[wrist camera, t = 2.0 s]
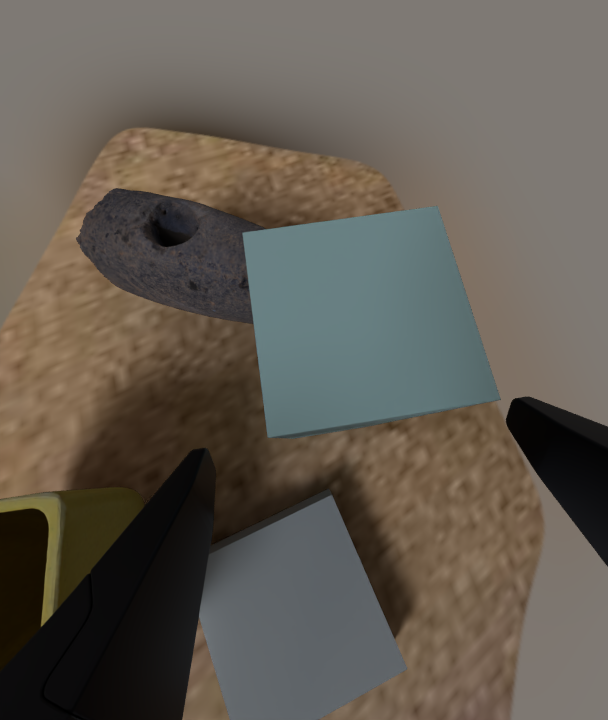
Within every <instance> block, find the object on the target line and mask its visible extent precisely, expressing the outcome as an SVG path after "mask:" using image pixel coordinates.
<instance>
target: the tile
mask: <svg viewBox="0 0 608 720" xmlns="http://www.w3.org/2000/svg"><path fill="white" fill-rule="evenodd" d="M199 618H200V621H201V625H202V628H203V631H204V635H205V638H206V641H207V645H208V648H209V651H210V655H211V658H212V661H213V665H214V668H215V671H216V675H217V678H218V681H219V685H220V688H221V691H222V695H223V698H224V701H225V705H226V708H227V712H228V715H229V718H230V720H318V719H320V718H322V717H324V716H325V715H327V714H329V713H331V712H333V711H334V710H336V709H338V708H340V707H341V706H343V705H345V704H347V703H348V702H350V701H352V700H354V699H355V698H357V697H359V696H361V695H363V694H364V693H366V692H368V691H370V690H371V689H373V688H375V687H377V686H378V685H380V684H382V683H384V682H385V681H387V680H389V679H391V678H393V677H394V676H396V675H398V674H400V673H401V672H403V671H405V670H407V667H406V665H405V662H404V660H403V658H402V655H401V653H400V651H399V648H398V646H397V644H396V641H395V639H394V637H393V635H392V632H391V630H390V628H389V625H388V623H387V621H386V618H385V616H384V614H383V612H382V609H381V607H380V605H379V602H378V600H377V598H376V595H375V593H374V591H373V588H372V586H371V584H370V582H369V579H368V577H367V575H366V572H365V570H364V568H363V565H362V563H361V561H360V558H359V556H358V554H357V552H356V549H355V547H354V545H353V542H352V540H351V538H350V535H349V533H348V531H347V528H346V526H345V524H344V522H343V519H342V517H341V515H340V512H339V510H338V508H337V505H336V503H335V501H334V498H333V496H332V494H331V492H330V490H329V489H327V490H325V491H323V492H321V493H319V494H317V495H315V496H312V497H310V498H308V499H306V500H304V501H302V502H300V503H298V504H296V505H294V506H292V507H290V508H288V509H286V510H283V511H281V512H279V513H277V514H275V515H273V516H271V517H269V518H267V519H265V520H263V521H261V522H259V523H257V524H254V525H252V526H250V527H248V528H246V529H244V530H242V531H240V532H238V533H236V534H234V535H232V536H230V537H228V538H225V539H223V540H221V541H219V542H217V543H215V544H213V545H211V546H210V551H209V557H208V563H207V569H206V575H205V582H204V588H203V594H202V600H201V606H200V612H199Z"/></svg>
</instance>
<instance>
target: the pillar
mask: <svg viewBox="0 0 608 720" xmlns="http://www.w3.org/2000/svg"><path fill="white" fill-rule="evenodd" d="M243 241H244V249H245V257H246V265H247V273H248V282H249V290H250V298H251V306H252V314H253V322H254V330H255V338H256V346H257V355H258V363H259V371H260V379H261V387H262V395H263V403H264V411H265V419H266V428H267V436H268V438H291V439H294V438H300V437H306V436H312V435H319V434H325V433H331V432H337V431H343V430H349V429H355V428H361V427H367V426H372V425H377V424H382V423H387V422H392V421H397V420H402V419H407V418H412V417H417V416H422V415H427V414H432V413H437V412H442V411H447V410H452V409H457V408H462V407H467V406H472V405H477V404H482V403H487V402H492V401H497V400H501V399H500V396H499V393H498V390H497V387H496V384H495V380H494V377H493V375H492V371H491V368H490V365H489V362H488V359H487V356H486V353H485V350H484V347H483V344H482V341H481V338H480V335H479V331H478V328H477V325H476V322H475V319H474V316H473V313H472V310H471V307H470V304H469V301H468V298H467V295H466V292H465V289H464V286H463V282H462V279H461V276H460V273H459V270H458V267H457V264H456V261H455V258H454V255H453V252H452V249H451V246H450V243H449V239H448V236H447V233H446V230H445V227H444V224H443V221H442V218H441V215H440V212H439V209H438V206H434V207H426V208H419V209H412V210H404V211H397V212H390V213H382V214H375V215H368V216H361V217H353V218H346V219H339V220H331V221H324V222H317V223H310V224H302V225H295V226H288V227H280V228H273V229H266V230H258V231H251V232H244V233H243Z"/></svg>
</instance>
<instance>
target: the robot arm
mask: <svg viewBox="0 0 608 720" xmlns="http://www.w3.org/2000/svg"><path fill="white" fill-rule="evenodd" d="M506 424H507V427H508V429H509V430H510V432H511V433H512V435H513V437H514V438H515V440H516V441H517V443H518V445H519V446H520V448H521V449H522V451H523V452H524V454H525V456H526V457H527V459H528V460H529V462H530V464H531V465H532V467H533V468H534V470H535V471H536V473H537V474H538V476H539V477H540V478H541V480H542V481H543V483H544V484H545V485H546V487H547V488H548V489H549V490H550V492H551V493H552V494H553V496H554V497H555V498H556V500H557V501H558V502H559V503H560V505H561V506H562V507H563V509H564V510H565V511H566V513H567V514H568V515H569V517H570V518H571V519H572V521H573V522H574V523H575V525H576V526H577V527H578V528H579V530H580V531H581V532H582V534H583V535H584V536H585V538H586V539H587V540H588V541H589V543H590V544H591V545H592V547H593V548H594V549H595V551H596V552H597V553H598V555H599V556H600V557H601V559H602V560H603V561H604V562H605V564H606V565H607V566H608V427H607V426H605V425H602V424H600V423H597V422H594V421H592V420H589V419H586V418H584V417H581V416H579V415H576V414H573V413H571V412H568V411H566V410H563V409H560V408H558V407H555V406H552V405H550V404H547V403H545V402H542V401H540V400H537V399H534V398H532V397H522V398H515V399H513V400H512V402H511V405H510V408H509V411H508V415H507V418H506ZM215 482H216V470H215V466H214V463H213V460H212V458H211V455H210V453H209V451H208V449H207V448H199V449H194V450H192V451H190V453H189V454H188V455H187V456H186V457H185V458H184V460H183V461H182V462H181V463H180V464H179V466H178V467H177V468H176V469H175V470H174V472H173V473H172V474H171V475H170V476H169V477H168V479H167V480H166V481H165V482H164V483H163V485H162V486H161V487H160V488H159V489H158V491H157V492H156V493H155V494H154V495H153V497H152V498H151V499H150V500H149V501H148V502H147V504H146V505H145V506H144V507H143V508H142V510H141V511H140V512H139V513H138V514H137V516H136V517H135V518H134V519H133V520H132V521H131V523H130V524H129V525H128V526H127V527H126V529H125V530H124V531H123V532H122V533H121V535H120V536H119V537H118V538H117V539H116V541H115V542H114V543H113V544H112V545H111V546H110V548H109V549H108V550H107V551H106V552H105V554H104V555H103V556H102V557H101V558H100V560H99V561H98V562H97V563H96V564H95V565H94V567H93V568H92V569H91V571H90V573H89V574H87V575H86V576H85V577H84V578H83V580H82V581H81V582H80V583H79V584H78V586H77V587H76V588H75V589H74V590H73V591H72V593H71V594H70V595H69V596H68V597H67V598H66V600H65V601H64V602H63V603H62V604H61V605H60V606H59V608H58V609H57V610H56V611H55V612H54V613H53V614H52V616H51V617H50V618H49V619H48V620H47V621H46V622H45V623H44V625H43V626H42V627H41V628H40V629H39V630H38V631H37V632H36V633H35V634H34V635H33V636H32V638H31V639H30V640H29V641H28V642H27V643H26V644H25V645H24V646H23V647H22V648H21V650H20V651H19V652H18V653H17V654H16V655H15V656H14V657H13V658H12V659H11V660H10V661H9V662H8V663H7V664H6V665H5V667H4V668H3V669H2V670H1V671H0V720H182V717H183V711H184V705H185V699H186V693H187V686H188V680H189V674H190V668H191V662H192V656H193V649H194V643H195V637H196V631H197V625H198V619H199V612H200V606H201V600H202V594H203V588H204V582H205V575H206V569H207V563H208V557H209V551H210V544H211V538H212V531H213V520H214V501H215Z"/></svg>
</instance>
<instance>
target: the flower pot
mask: <svg viewBox="0 0 608 720" xmlns="http://www.w3.org/2000/svg"><path fill="white" fill-rule="evenodd" d="M143 507H144V501H143V499H142V497H141V496H140V494H139V493H137V492H136V491H134V490H132V489H129V488H124V487H107V488H96V489H81V490H67V491H53V492H43V493H36V494H30V495H24V496H18V497H11V498H4V499H0V671H1V670H2V669H3V668H4V667H5V665H6V664H7V663H8V662H9V661H10V660H11V659H12V658H13V657H14V656H15V655H16V654H17V653H18V652H19V651H20V650H21V648H22V647H23V646H24V645H25V644H26V643H27V642H28V641H29V640H30V639H31V638H32V636H33V635H34V634H35V633H36V632H37V631H38V630H39V629H40V628H41V627H42V626H43V625H44V623H45V622H46V621H47V620H48V619H49V618H50V617H51V616H52V614H53V613H54V612H55V611H56V610H57V609H58V608H59V606H60V605H61V604H62V603H63V602H64V601H65V600H66V598H67V597H68V596H69V595H70V594H71V593H72V591H73V590H74V589H75V588H76V587H77V586H78V584H79V583H80V582H81V581H82V580H83V578H84V577H85V576H86V575H87V574H89V573H90V571H91V569H92V568H93V567H94V565H95V564H96V563H97V562H98V561H99V560H100V558H101V557H102V556H103V555H104V554H105V552H106V551H107V550H108V549H109V548H110V546H111V545H112V544H113V543H114V542H115V541H116V539H117V538H118V537H119V536H120V535H121V533H122V532H123V531H124V530H125V529H126V527H127V526H128V525H129V524H130V523H131V521H132V520H133V519H134V518H135V517H136V516H137V514H138V513H139V512H140V511H141V510H142V508H143Z"/></svg>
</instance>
